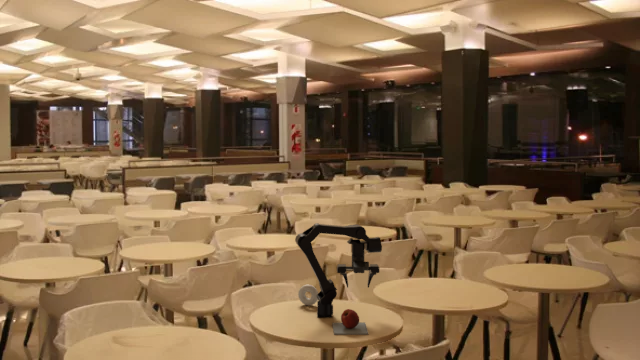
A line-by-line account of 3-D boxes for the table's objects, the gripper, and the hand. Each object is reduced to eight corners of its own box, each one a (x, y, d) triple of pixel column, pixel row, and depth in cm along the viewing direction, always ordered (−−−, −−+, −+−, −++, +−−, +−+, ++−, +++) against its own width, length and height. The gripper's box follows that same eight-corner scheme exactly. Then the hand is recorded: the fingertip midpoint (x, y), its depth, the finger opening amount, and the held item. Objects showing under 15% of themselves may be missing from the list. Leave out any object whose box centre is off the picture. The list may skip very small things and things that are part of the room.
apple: (337, 326, 287) (337, 307, 286) (354, 324, 290) (354, 305, 289) (345, 331, 280) (345, 312, 279) (362, 329, 283) (362, 310, 282)
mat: (334, 334, 278) (334, 333, 278) (332, 324, 292) (332, 322, 292) (368, 334, 278) (368, 333, 278) (365, 323, 292) (365, 322, 292)
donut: (297, 305, 320) (297, 284, 319) (299, 303, 323) (299, 282, 322) (317, 307, 316) (317, 286, 315) (319, 305, 320) (319, 284, 318)
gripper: (337, 257, 296) (337, 292, 298) (380, 257, 296) (380, 292, 298) (336, 251, 307) (336, 285, 309) (378, 251, 307) (378, 285, 309)
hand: (357, 287), depth 306 cm, fingers open, 9 cm apart
